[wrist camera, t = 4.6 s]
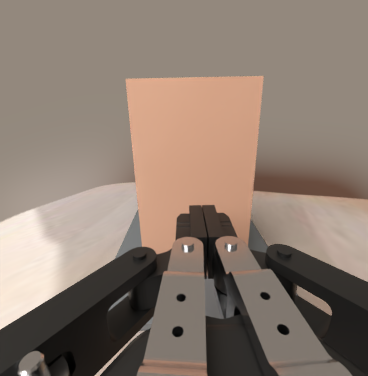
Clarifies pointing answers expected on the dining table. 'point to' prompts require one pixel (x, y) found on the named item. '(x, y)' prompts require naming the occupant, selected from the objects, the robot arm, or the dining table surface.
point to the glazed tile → (193, 150)
